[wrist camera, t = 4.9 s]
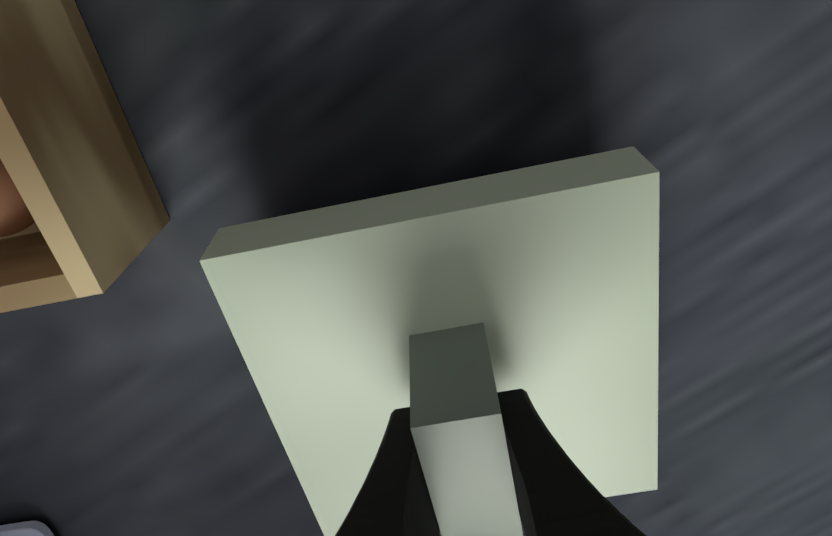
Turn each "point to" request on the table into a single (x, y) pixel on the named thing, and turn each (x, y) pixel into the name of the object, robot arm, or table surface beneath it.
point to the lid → (457, 330)
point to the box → (64, 163)
